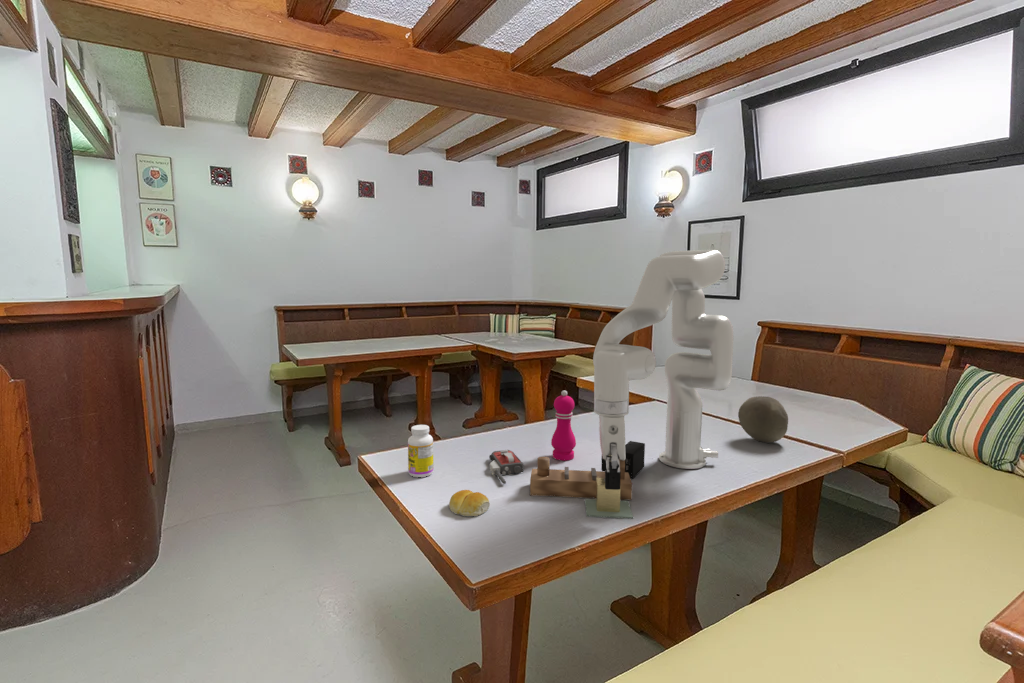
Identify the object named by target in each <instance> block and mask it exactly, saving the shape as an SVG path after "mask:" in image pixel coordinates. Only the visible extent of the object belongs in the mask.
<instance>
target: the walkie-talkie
mask: <svg viewBox="0 0 1024 683" xmlns="http://www.w3.org/2000/svg"><path fill="white" fill-rule="evenodd" d="M488 457H489V459H490V463H489V470H490V472H491V475H492V474H493V475H492V476H496V477H497V478H498V479H499V481H500V482H501V483H502V484H503V485H506V483H507V480H506V479H505V478H504V476H506V475H512V473H515V474H521V472H523V473H524V467H525V466H524V463H523V462H522V460H521V459H520V458H519V457H518V456H517V454H516V453H514V451H512V450H510V449H505V450H494V451H493V452H492V453H491V454H489V456H488ZM501 474H503V475H501Z"/></svg>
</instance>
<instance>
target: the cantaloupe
mask: <svg viewBox="0 0 1024 683" xmlns="http://www.w3.org/2000/svg"><path fill="white" fill-rule="evenodd" d="M737 415H738V421H739V423H740V426H741V428H742V430H744V432H745V433H746V434H747V435H749V436H750V438H752V440H753V439H754V441H757V442H759V443H764V442H765V443H767V444H770V443H772V444H773V443H776V442H778V441H780V440H781V439H783V438H784V437H785V435H786V433H787V431H788V427H789V426H788V425H789V415H788V412H787V411H786V409H785V407H784V405H783V404H782V403H781V402H780V401H779V400H777V399H776V398H774V397H771V396H762V395H761V396H752V397H749V398H747V399H746V400H745V401H744V402H743V403H742V404H741V405H740V407H739V409H738V414H737Z"/></svg>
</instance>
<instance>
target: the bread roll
mask: <svg viewBox="0 0 1024 683" xmlns="http://www.w3.org/2000/svg"><path fill="white" fill-rule="evenodd" d="M490 505H491V504H490V500H489V498H488V497H487V495H485V494H484V493H481V492H478V491H477V492H474V491H473V490H472V491H471V490H470V489H462V490H459V491H457V492H455V493H453V495H451V497H450V498H449V505H448V506H449V509H450V511H451V513H453V512H454V513H453V514H455V513H456V514H455V515H461V516H462V515H463V516H462V517H465V516H474V517H478V515H479V516H481V515H483V514H485V513H486V512H487V511H488V510H489V509H490ZM484 512H485V513H484Z"/></svg>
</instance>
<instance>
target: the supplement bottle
mask: <svg viewBox="0 0 1024 683" xmlns="http://www.w3.org/2000/svg"><path fill="white" fill-rule="evenodd" d="M410 429H411V430H410V432H411V434H412V435H411V436H409V437H408V440H407V463H408V464H407V465H408V467H407V468H408V474H409V476H411V477H412V476H413V478H418V477H421V478H426V476H427V477H429V476H431V475H433V473H434V438H433V436H432V435H431V434H429V433H430V426H429V425H427V424H416V425H412V426H411V428H410Z"/></svg>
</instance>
